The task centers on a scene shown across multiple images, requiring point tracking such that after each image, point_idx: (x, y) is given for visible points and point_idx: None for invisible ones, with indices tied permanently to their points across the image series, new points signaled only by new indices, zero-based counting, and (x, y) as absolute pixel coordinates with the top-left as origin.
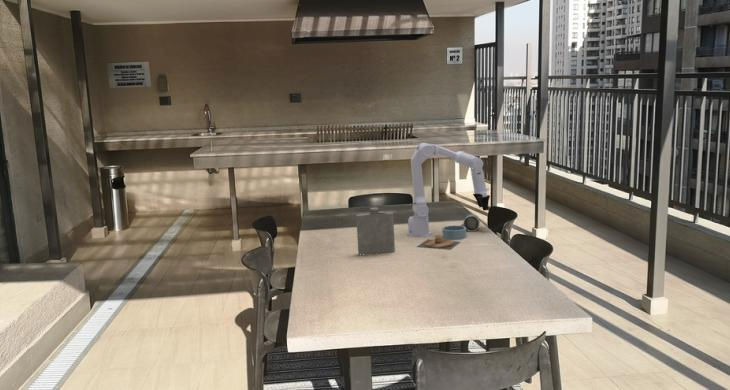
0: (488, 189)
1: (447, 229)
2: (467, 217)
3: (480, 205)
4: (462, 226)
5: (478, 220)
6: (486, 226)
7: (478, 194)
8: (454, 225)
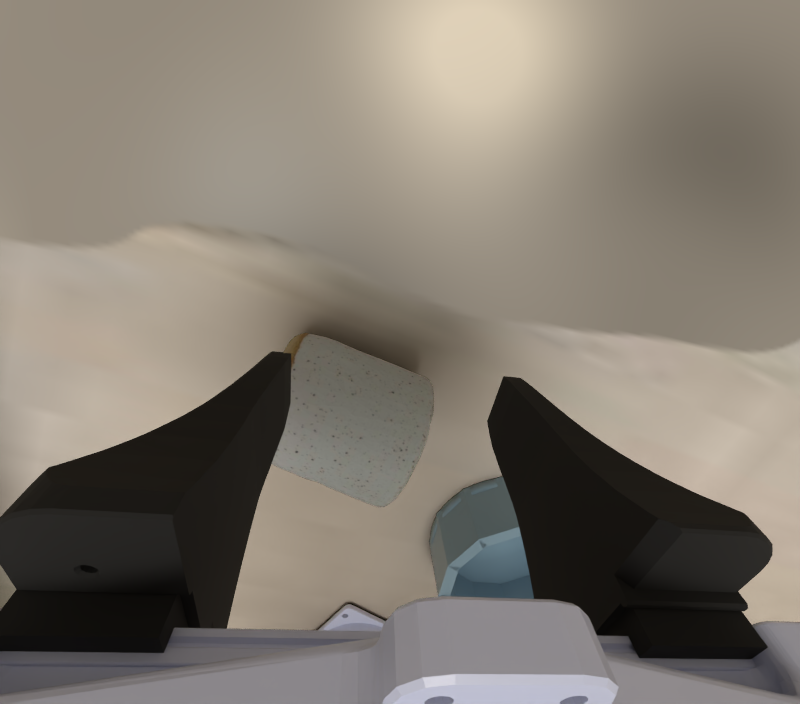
0: (604, 656)
1: (452, 588)
2: (390, 501)
3: (285, 408)
4: (505, 536)
5: (433, 405)
6: (277, 239)
7: (212, 598)
8: (447, 569)
